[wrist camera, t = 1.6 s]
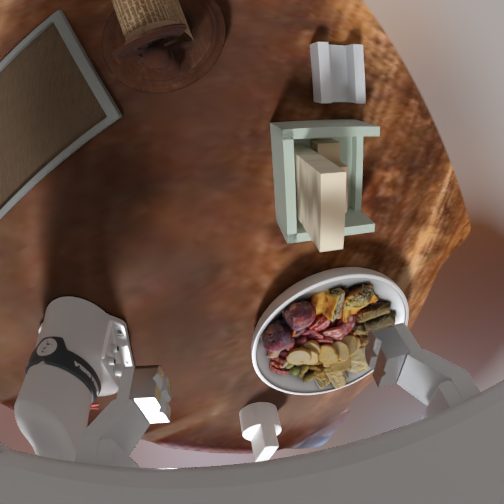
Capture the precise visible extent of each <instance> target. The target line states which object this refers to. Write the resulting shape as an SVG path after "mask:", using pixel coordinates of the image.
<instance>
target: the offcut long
mask: <svg viewBox="0 0 504 504" xmlns="http://www.w3.org/2000/svg"><path fill="white" fill-rule="evenodd" d="M310 144H311V149H312V150H314V151H315V152H317V153H318V154H320V155H322V156H323V157H325V158H326V159H328V160H329V161H331V162H340V142H338V141H336V140H334V139H314V140H310Z"/></svg>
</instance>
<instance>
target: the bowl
mask: <svg viewBox="0 0 504 504" xmlns="http://www.w3.org/2000/svg"><path fill="white" fill-rule="evenodd" d="M408 319H409V307H408V302H407V299H406V297H405V295H404V293H403V291H402V290H401V289H400V288H399V286H398V285H397V284H396V283H395V282H394V281H393V280H391V279H390V278H389V277H387V276H386V275H384V274H382V273H380V272H377V271H374V270H371V269H367V268H361V267H341V268H334V269H330V270H326V271H322V272H319V273H316V274H314V275H311V276H309V277H307V278H305V279H303V280H301V281H299V282H297V283H295V284H294V285H292V286H291V287H289V288H288V289H287V290H285V291H284V292H283V293H281V294H280V295H279V296H278V297H277V298H276V299H275V300H274V301H273V302H272V303H271V304H270V305H269V306H268V308H267V309H266V310H265V312H264V313H263V314H262V316H261V318H260V319H259V321H258V323H257V325H256V328H255V330H254V333H253V337H252V343H251V357H252V362H253V366H254V369H255V371H256V373H257V375H258V376H259V377H260V378H261V380H262V381H264V382H265V383H266V384H267V385H269V386H270V387H272V388H274V389H276V390H279V391H281V392H285V393H289V394H296V395H314V394H322V393H327V392H331V391H335V390H338V389H341V388H343V387H346V386H348V385H351V384H353V383H355V382H357V381H359V380H361V379H362V378H364V377H366V376H367V375H369V374H370V373H372V372H373V371H374V370H373V369H371V368H370V367H369V366H368V364H367V362H366V358H365V347H366V345H367V343H368V342H369V340H368V338H367V337H368V333H369V332H370V331H372V330H376V329H380V328H384V327H387V326H392V325H396V324H400V323H404V324H405V325H406V326H407V324H408Z"/></svg>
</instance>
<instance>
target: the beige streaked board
mask: <svg viewBox="0 0 504 504" xmlns="http://www.w3.org/2000/svg"><path fill="white" fill-rule="evenodd" d="M294 161H295V186H296V216H297V218H298V219H299V221H300V222H301V224H302V225H303V227H304V228H305V230H306V231H307V233H308V235H309V236H310V238H311V239H312V241H313V242H314V244H315V245H316V247H317V248H318V250H319V252H326V251H333V250H339V249H343V245H344V227H345V205H346V171H344V170H343V169H341V168H340V167H338V166H337V165H335V164H334V163H332V162H331V161H329V160H328V159H326V158H325V157H323V156H322V155H320V154H318V153H317V152H315V151H314V150H312V149H311V148H309V147H307V146H306V145H304V144H294Z"/></svg>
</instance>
